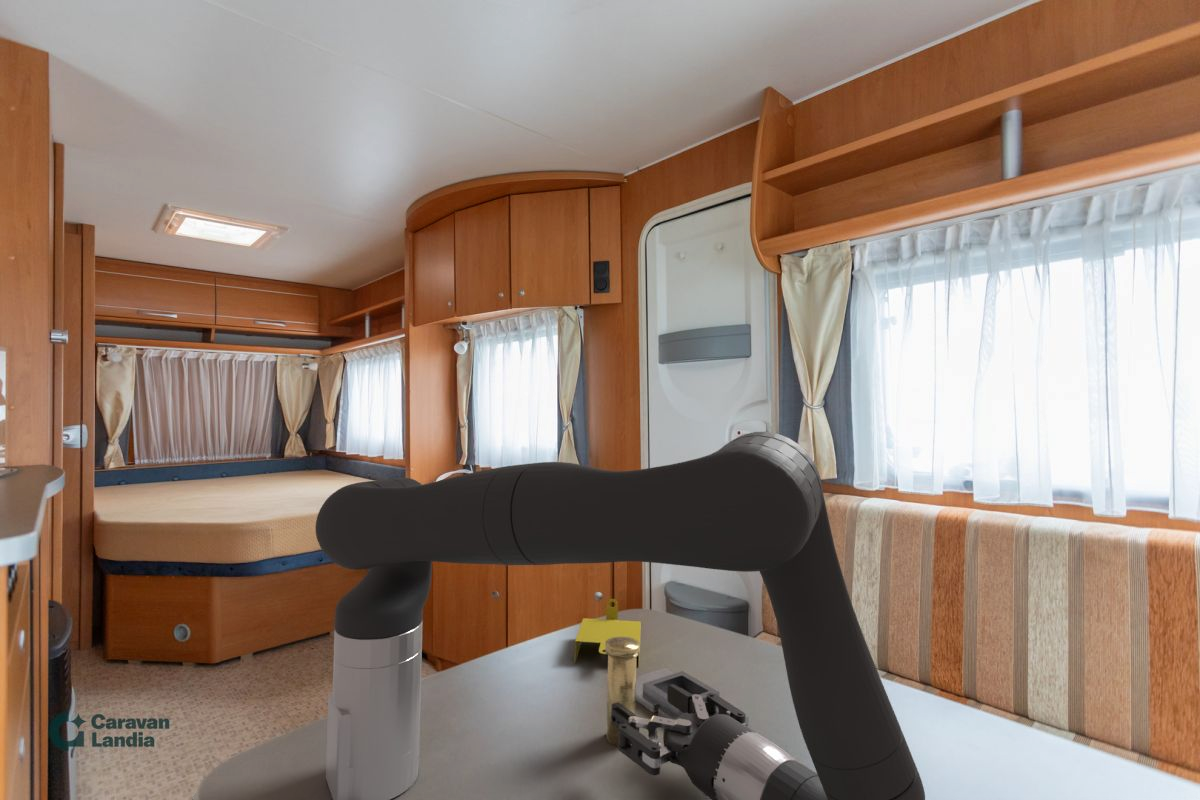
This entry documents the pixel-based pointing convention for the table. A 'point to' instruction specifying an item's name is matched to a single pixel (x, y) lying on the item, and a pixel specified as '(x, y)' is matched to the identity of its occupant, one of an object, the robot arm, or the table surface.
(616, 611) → the bracket
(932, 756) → the table surface
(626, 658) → the hinge pin
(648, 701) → the grey socket base plate
